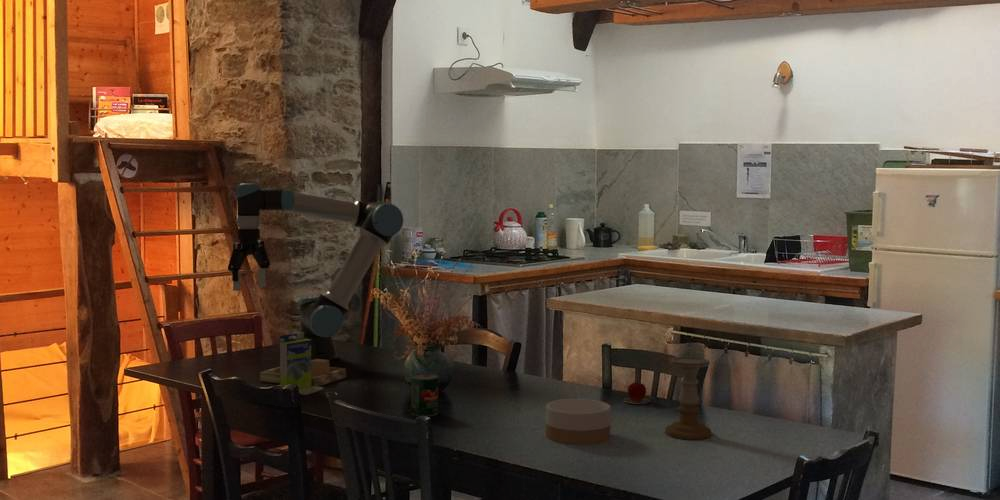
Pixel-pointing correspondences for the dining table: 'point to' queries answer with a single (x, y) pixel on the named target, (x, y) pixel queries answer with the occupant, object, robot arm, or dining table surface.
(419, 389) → the canned tomato
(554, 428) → the brown round container
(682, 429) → the candle holder
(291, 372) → the box
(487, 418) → the dining table surface
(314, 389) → the sage mat
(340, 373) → the crate frame
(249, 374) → the dining table surface
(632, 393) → the apple
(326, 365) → the terracotta block
